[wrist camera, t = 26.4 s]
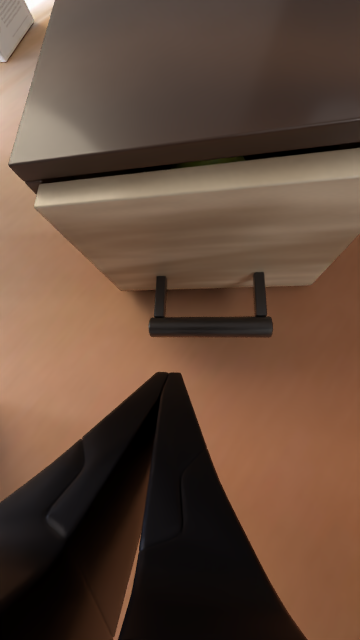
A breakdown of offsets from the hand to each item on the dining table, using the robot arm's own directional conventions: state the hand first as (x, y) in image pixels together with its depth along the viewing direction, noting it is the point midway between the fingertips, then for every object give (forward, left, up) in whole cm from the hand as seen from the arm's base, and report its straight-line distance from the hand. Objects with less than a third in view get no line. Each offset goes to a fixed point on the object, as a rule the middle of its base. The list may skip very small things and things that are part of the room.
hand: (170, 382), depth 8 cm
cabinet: (+14, -7, -8) cm, 17 cm away
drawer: (+10, -5, -7) cm, 13 cm away
